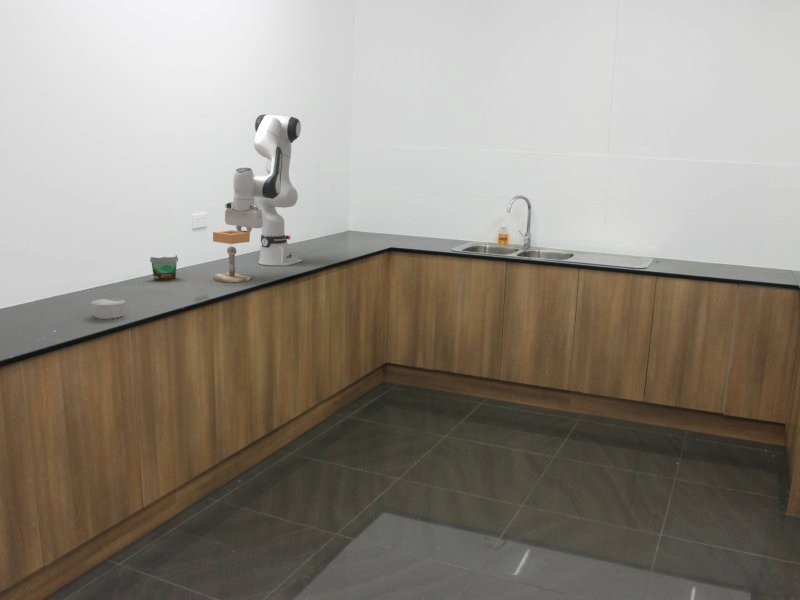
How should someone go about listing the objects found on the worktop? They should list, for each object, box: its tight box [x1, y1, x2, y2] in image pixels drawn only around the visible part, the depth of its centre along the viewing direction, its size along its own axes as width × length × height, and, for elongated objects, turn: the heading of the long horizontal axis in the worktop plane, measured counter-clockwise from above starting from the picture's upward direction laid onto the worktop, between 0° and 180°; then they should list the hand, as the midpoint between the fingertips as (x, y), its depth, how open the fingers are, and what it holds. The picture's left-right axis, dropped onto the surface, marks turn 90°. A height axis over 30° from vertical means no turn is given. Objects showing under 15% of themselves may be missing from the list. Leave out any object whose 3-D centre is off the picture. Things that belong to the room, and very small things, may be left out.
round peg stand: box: [213, 245, 252, 284], centre depth 342 cm, size 16×16×14 cm
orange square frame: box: [212, 229, 251, 245], centre depth 341 cm, size 15×11×4 cm
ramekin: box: [90, 298, 126, 320], centre depth 271 cm, size 11×11×5 cm
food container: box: [149, 254, 179, 282], centre depth 337 cm, size 12×6×10 cm, turn 129°
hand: (244, 236), depth 346 cm, fingers closed on orange square frame, 3 cm apart
